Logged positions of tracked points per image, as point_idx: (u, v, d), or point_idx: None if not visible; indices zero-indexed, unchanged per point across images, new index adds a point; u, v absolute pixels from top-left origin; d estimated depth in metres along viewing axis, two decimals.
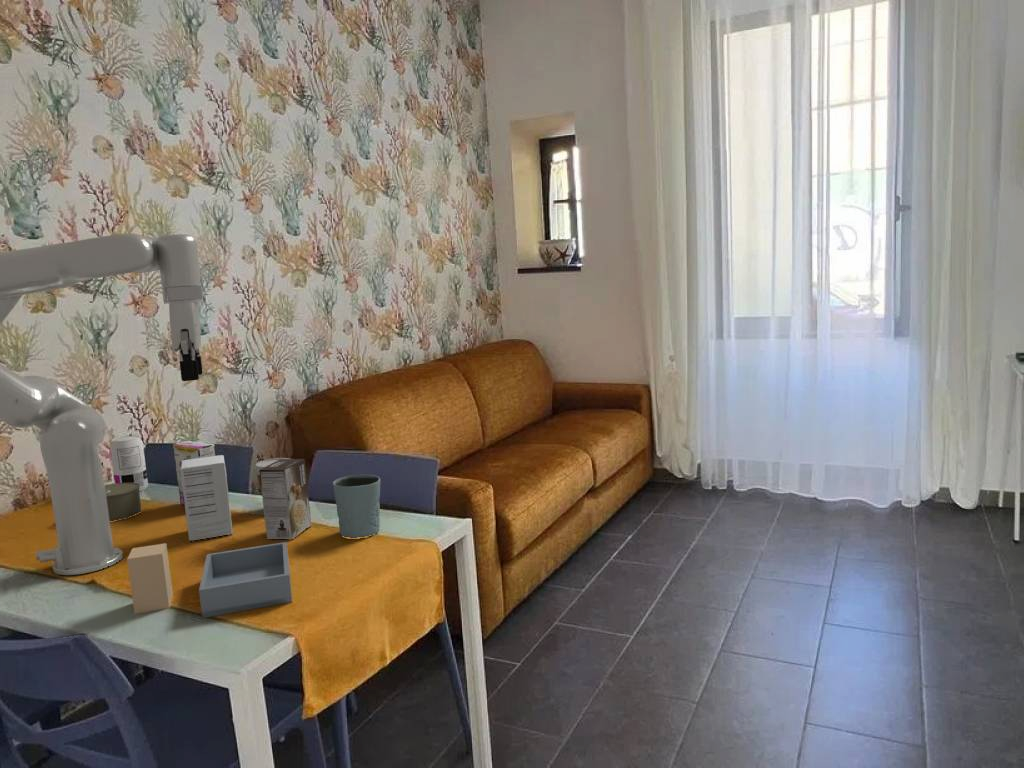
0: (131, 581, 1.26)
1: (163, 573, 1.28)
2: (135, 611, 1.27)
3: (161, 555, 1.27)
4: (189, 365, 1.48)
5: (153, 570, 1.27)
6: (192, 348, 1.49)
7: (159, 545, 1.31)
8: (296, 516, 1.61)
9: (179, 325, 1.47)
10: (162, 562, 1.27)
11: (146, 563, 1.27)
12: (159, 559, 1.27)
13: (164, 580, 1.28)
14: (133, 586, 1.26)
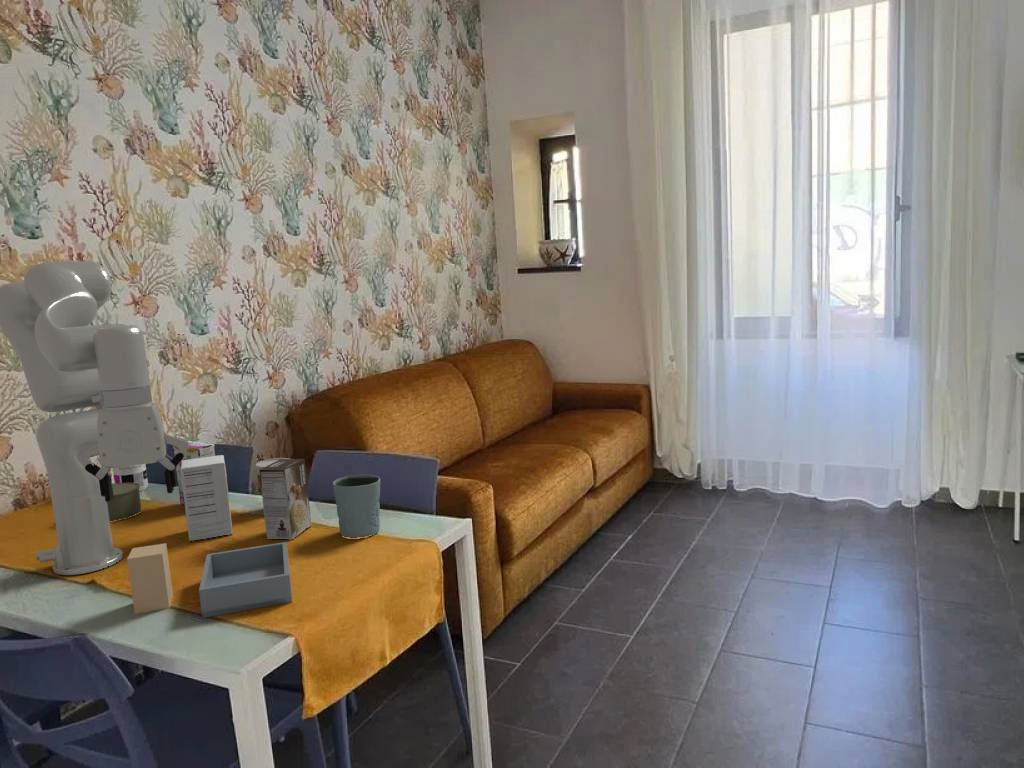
0: (131, 581, 1.26)
1: (163, 573, 1.28)
2: (135, 611, 1.27)
3: (161, 555, 1.27)
4: (174, 472, 1.29)
5: (153, 570, 1.27)
6: (166, 454, 1.29)
7: (159, 545, 1.31)
8: (296, 516, 1.61)
9: (163, 429, 1.26)
10: (162, 562, 1.27)
11: (146, 563, 1.27)
12: (159, 559, 1.27)
13: (164, 580, 1.28)
14: (133, 586, 1.26)
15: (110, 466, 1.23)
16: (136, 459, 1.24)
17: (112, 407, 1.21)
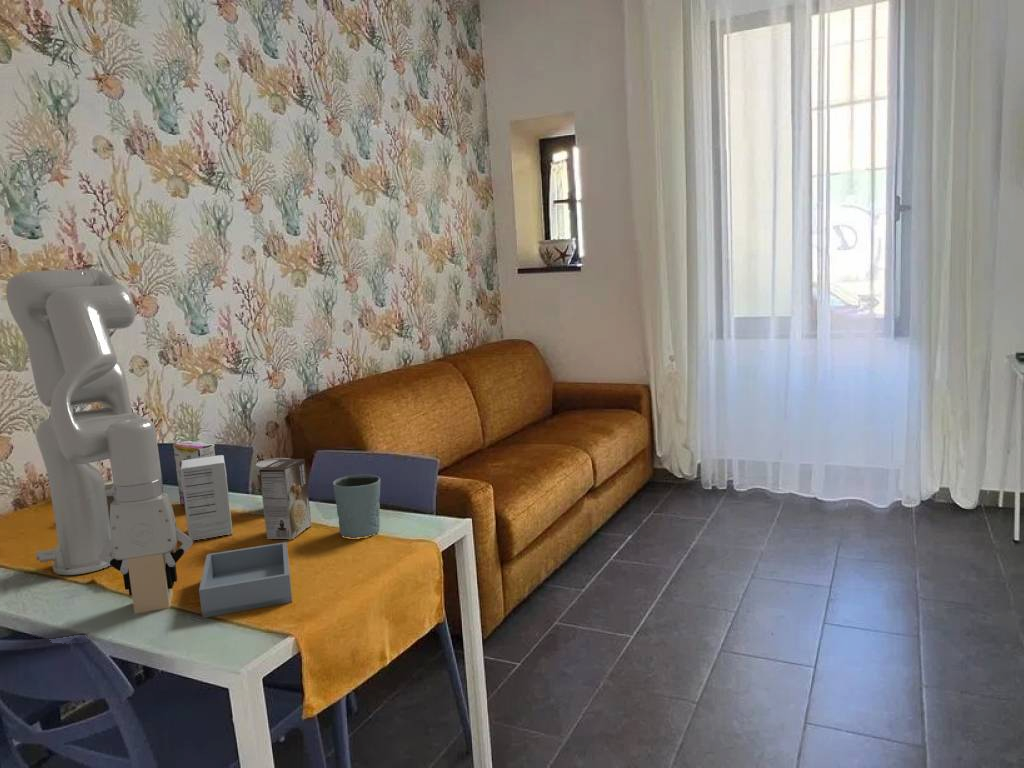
0: (131, 581, 1.26)
1: (163, 573, 1.28)
2: (135, 611, 1.27)
3: (161, 555, 1.27)
4: (175, 567, 1.31)
5: (153, 570, 1.27)
6: None
7: None
8: (296, 516, 1.61)
9: (174, 519, 1.29)
10: (162, 562, 1.27)
11: (146, 563, 1.27)
12: (159, 559, 1.27)
13: (164, 580, 1.28)
14: (133, 586, 1.26)
15: (122, 558, 1.25)
16: (148, 551, 1.26)
17: (125, 502, 1.24)
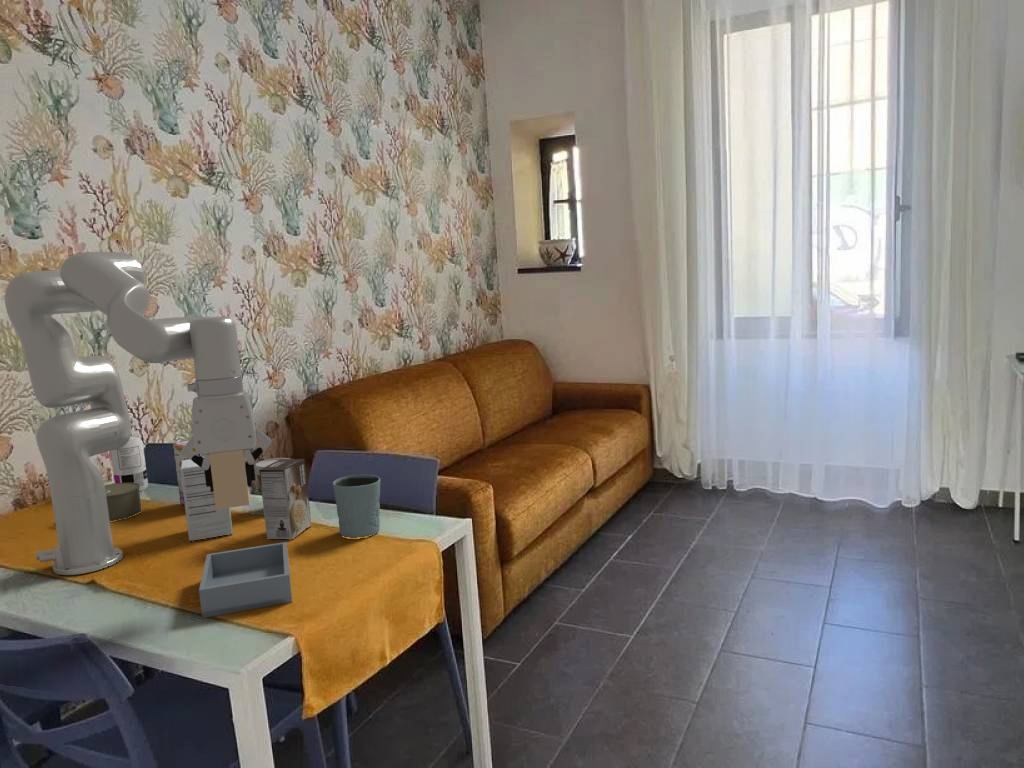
0: (213, 476, 1.27)
1: (243, 469, 1.29)
2: (216, 507, 1.28)
3: (242, 451, 1.28)
4: None
5: (234, 466, 1.28)
6: None
7: None
8: (296, 516, 1.61)
9: (253, 417, 1.30)
10: (243, 458, 1.28)
11: (227, 459, 1.28)
12: (240, 455, 1.28)
13: (244, 477, 1.29)
14: (215, 481, 1.27)
15: (205, 453, 1.26)
16: (229, 446, 1.27)
17: (208, 396, 1.25)
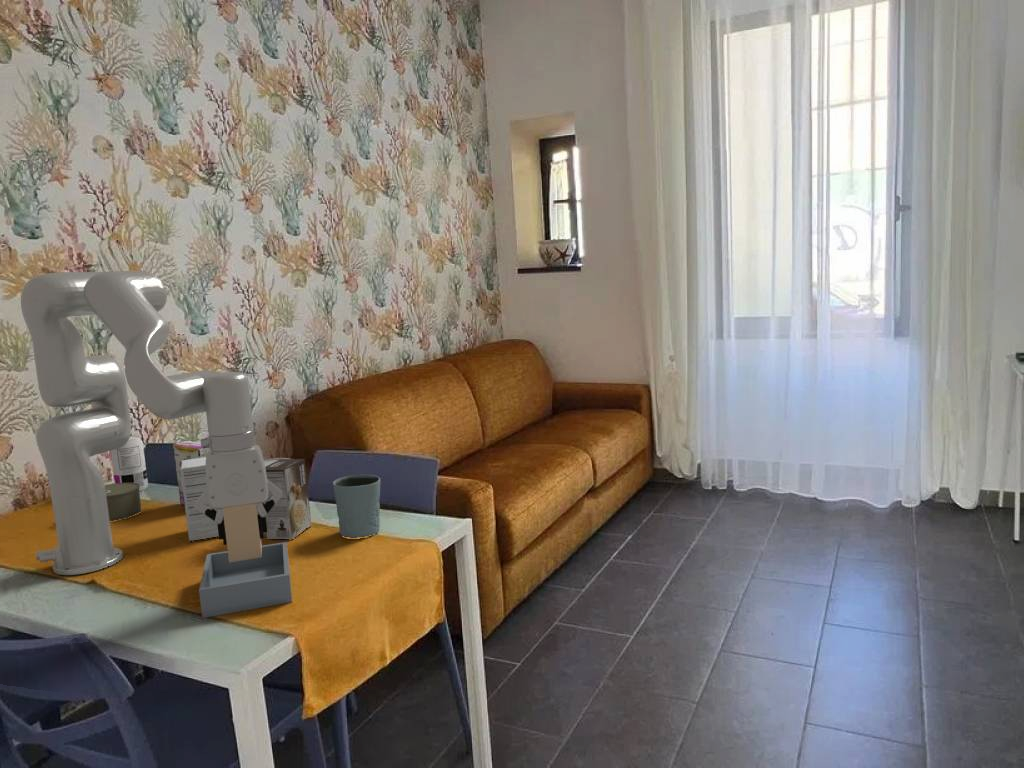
0: (226, 530, 1.29)
1: (256, 523, 1.30)
2: (229, 560, 1.30)
3: (254, 505, 1.30)
4: None
5: (247, 519, 1.30)
6: None
7: None
8: (296, 516, 1.61)
9: (265, 471, 1.32)
10: (255, 512, 1.30)
11: (240, 512, 1.29)
12: (252, 509, 1.30)
13: (257, 529, 1.31)
14: (228, 535, 1.29)
15: (218, 507, 1.28)
16: (242, 500, 1.29)
17: (221, 452, 1.27)
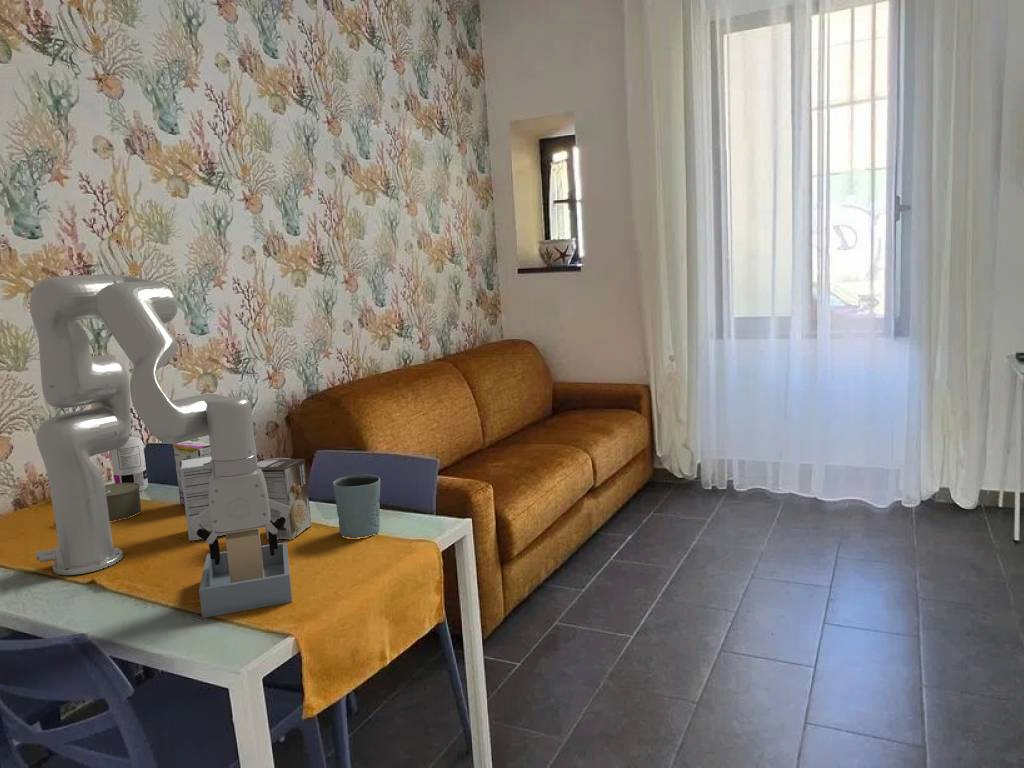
0: (229, 561, 1.30)
1: (259, 554, 1.31)
2: None
3: (257, 536, 1.31)
4: None
5: (250, 550, 1.31)
6: None
7: None
8: (296, 516, 1.61)
9: None
10: (258, 543, 1.31)
11: (243, 544, 1.30)
12: (255, 540, 1.31)
13: (260, 561, 1.32)
14: (231, 566, 1.30)
15: (220, 531, 1.29)
16: (244, 524, 1.30)
17: (224, 476, 1.27)
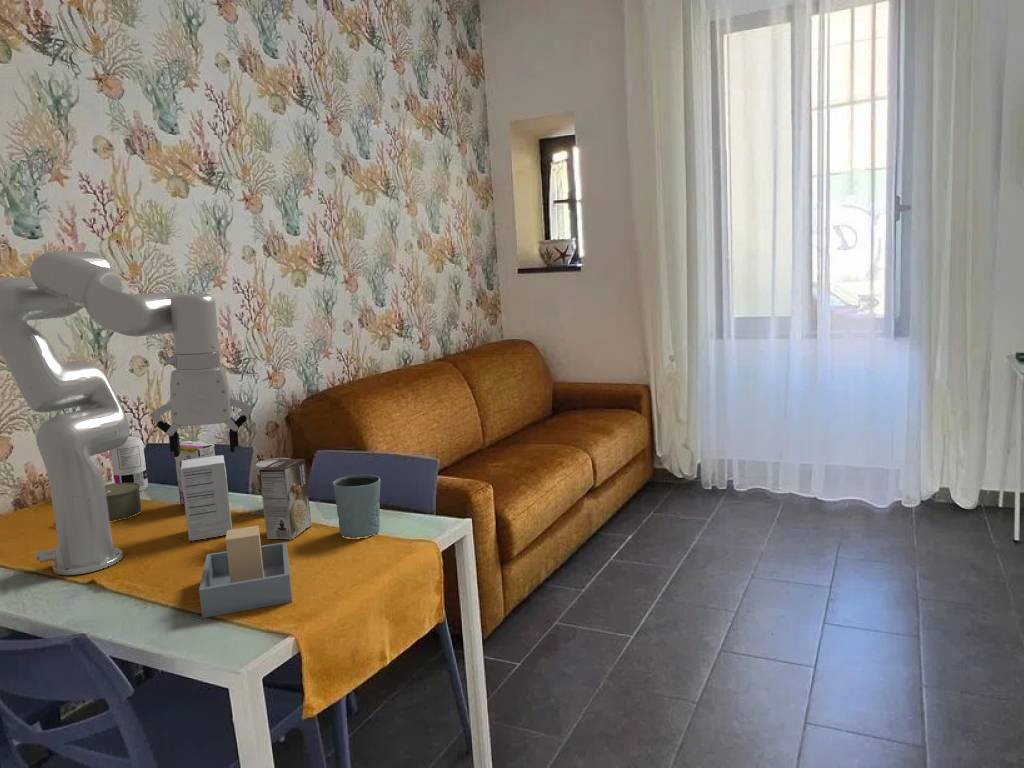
0: (229, 561, 1.30)
1: (259, 554, 1.31)
2: None
3: (257, 536, 1.31)
4: None
5: (250, 550, 1.31)
6: (230, 416, 1.38)
7: (252, 527, 1.35)
8: (296, 516, 1.61)
9: (229, 392, 1.36)
10: (258, 543, 1.31)
11: (243, 544, 1.30)
12: (255, 540, 1.31)
13: (260, 561, 1.32)
14: (231, 566, 1.30)
15: (180, 424, 1.32)
16: (204, 419, 1.33)
17: (185, 369, 1.30)
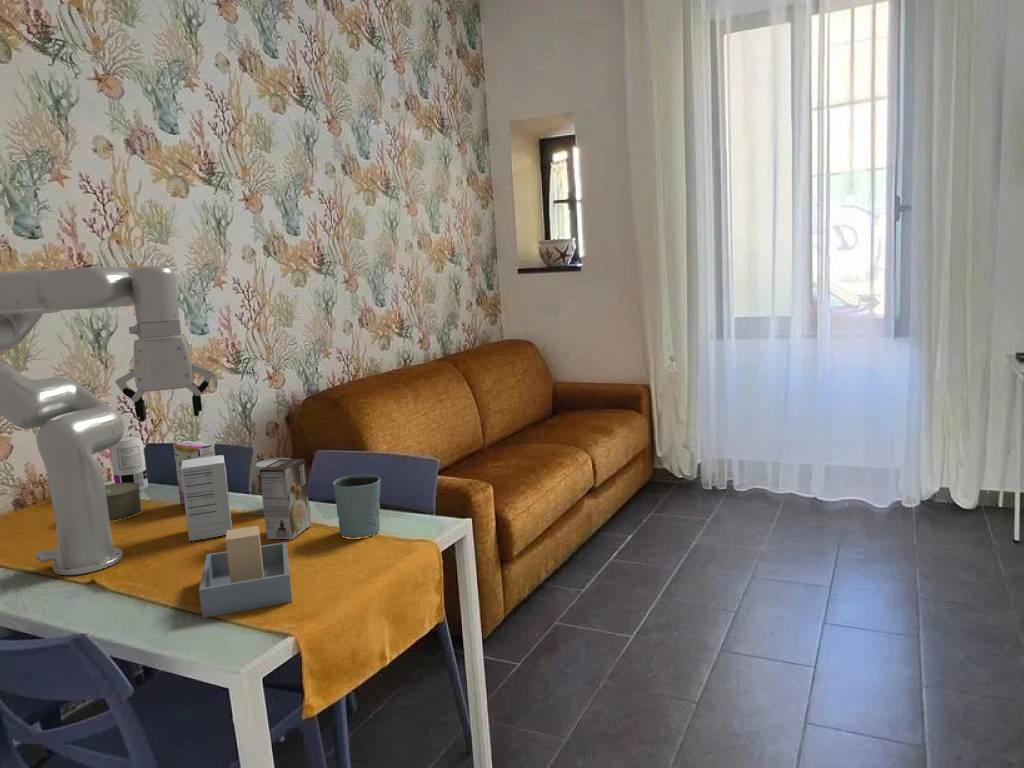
0: (229, 561, 1.30)
1: (259, 554, 1.31)
2: None
3: (257, 536, 1.31)
4: None
5: (250, 550, 1.31)
6: (193, 382, 1.46)
7: (252, 527, 1.35)
8: (296, 516, 1.61)
9: (190, 359, 1.43)
10: (258, 543, 1.31)
11: (243, 544, 1.30)
12: (255, 540, 1.31)
13: (260, 561, 1.32)
14: (231, 566, 1.30)
15: (145, 389, 1.40)
16: (167, 384, 1.41)
17: (147, 337, 1.38)
